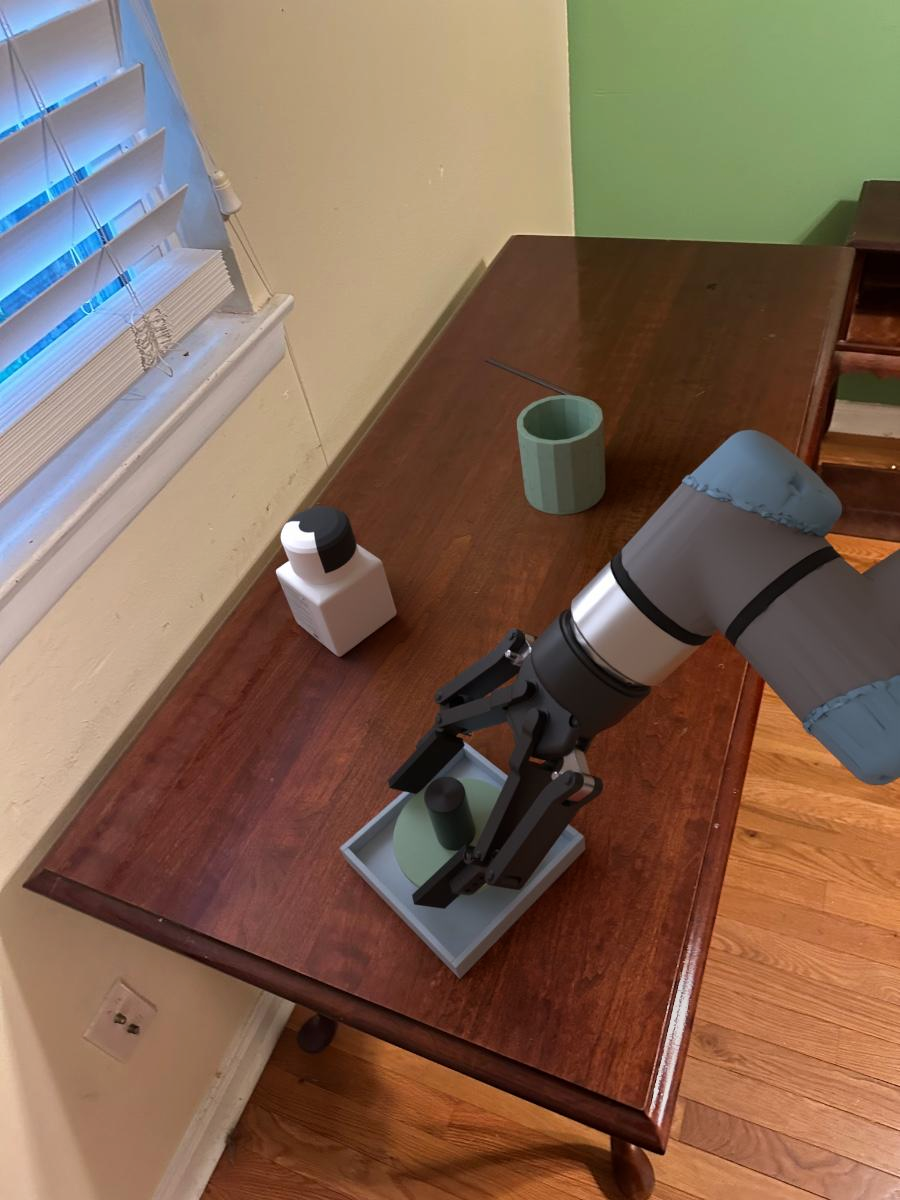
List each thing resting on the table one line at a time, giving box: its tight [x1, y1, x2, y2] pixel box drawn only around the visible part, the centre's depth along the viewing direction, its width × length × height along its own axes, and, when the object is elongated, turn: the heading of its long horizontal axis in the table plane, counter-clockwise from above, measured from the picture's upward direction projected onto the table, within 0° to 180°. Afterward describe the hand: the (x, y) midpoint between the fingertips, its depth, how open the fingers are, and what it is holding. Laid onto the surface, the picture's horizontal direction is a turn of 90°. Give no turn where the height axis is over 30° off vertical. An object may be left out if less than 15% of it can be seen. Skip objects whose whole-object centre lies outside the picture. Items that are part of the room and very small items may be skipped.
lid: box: [393, 777, 501, 898], centre depth 63 cm, size 10×10×7 cm
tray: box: [339, 741, 586, 979], centre depth 66 cm, size 14×14×2 cm
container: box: [275, 505, 397, 658], centre depth 83 cm, size 8×8×13 cm
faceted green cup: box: [516, 394, 606, 516], centre depth 93 cm, size 9×9×10 cm
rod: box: [484, 356, 579, 396], centre depth 114 cm, size 1×19×1 cm, turn 41°
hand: (415, 841), depth 64 cm, fingers closed on lid, 9 cm apart
